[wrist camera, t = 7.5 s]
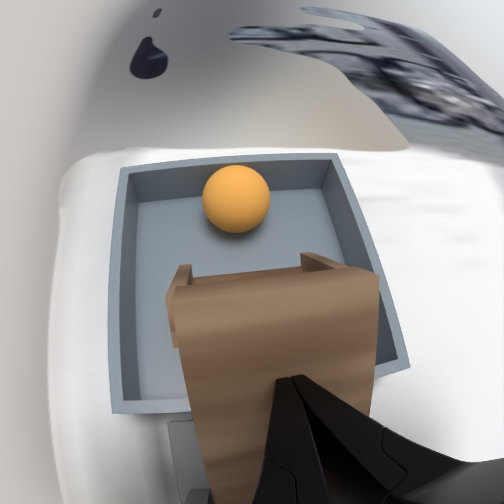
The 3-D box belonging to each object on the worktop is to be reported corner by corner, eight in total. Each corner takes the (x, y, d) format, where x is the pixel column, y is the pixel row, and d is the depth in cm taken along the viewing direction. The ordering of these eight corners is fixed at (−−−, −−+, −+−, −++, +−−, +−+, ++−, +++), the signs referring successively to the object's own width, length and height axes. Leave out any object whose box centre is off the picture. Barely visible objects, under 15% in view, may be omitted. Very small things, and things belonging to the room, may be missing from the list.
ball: (260, 185, 21) (269, 239, 20) (201, 190, 20) (206, 245, 19) (268, 150, 17) (281, 211, 16) (198, 154, 17) (203, 217, 15)
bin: (380, 377, 16) (410, 367, 13) (134, 413, 14) (112, 413, 11) (324, 186, 23) (336, 153, 20) (132, 201, 21) (120, 167, 18)
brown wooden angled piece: (359, 497, 10) (390, 273, 9) (214, 527, 9) (156, 301, 8) (312, 415, 18) (310, 246, 16) (207, 432, 17) (179, 259, 15)
